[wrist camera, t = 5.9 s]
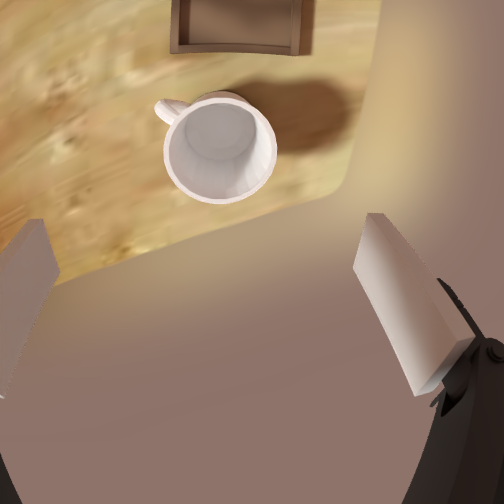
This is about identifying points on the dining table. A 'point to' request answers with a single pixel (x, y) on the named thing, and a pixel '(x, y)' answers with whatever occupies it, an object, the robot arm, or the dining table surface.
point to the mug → (217, 147)
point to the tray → (236, 26)
